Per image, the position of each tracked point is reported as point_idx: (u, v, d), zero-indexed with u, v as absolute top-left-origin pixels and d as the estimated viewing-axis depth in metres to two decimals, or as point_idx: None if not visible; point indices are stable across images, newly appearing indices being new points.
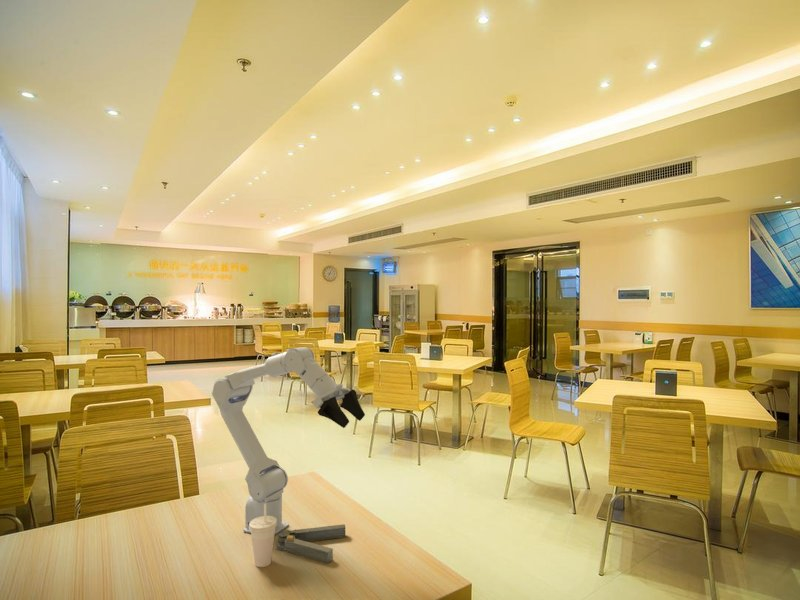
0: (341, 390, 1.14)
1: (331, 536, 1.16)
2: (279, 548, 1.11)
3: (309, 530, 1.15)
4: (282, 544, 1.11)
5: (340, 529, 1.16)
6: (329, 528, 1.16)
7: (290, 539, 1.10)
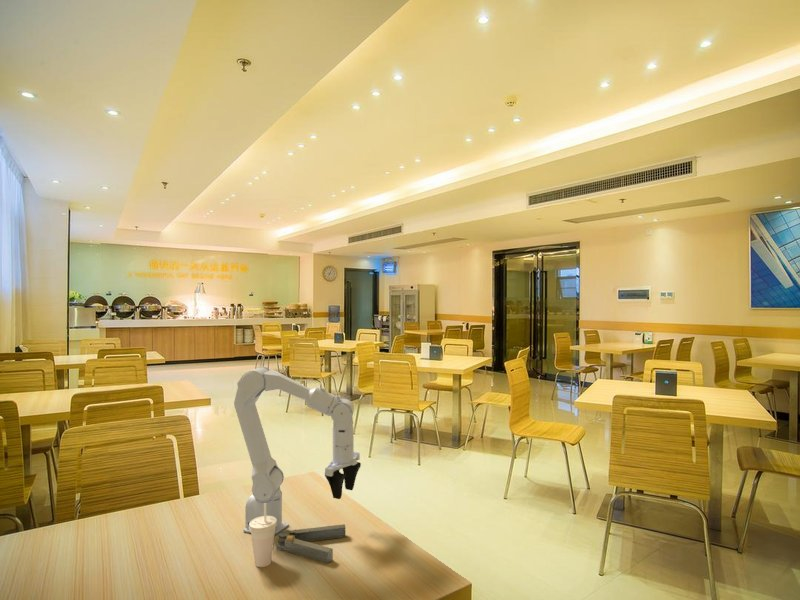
0: None
1: (331, 536, 1.16)
2: (279, 548, 1.11)
3: (309, 530, 1.15)
4: (282, 544, 1.11)
5: (340, 529, 1.16)
6: (329, 528, 1.16)
7: (290, 539, 1.10)
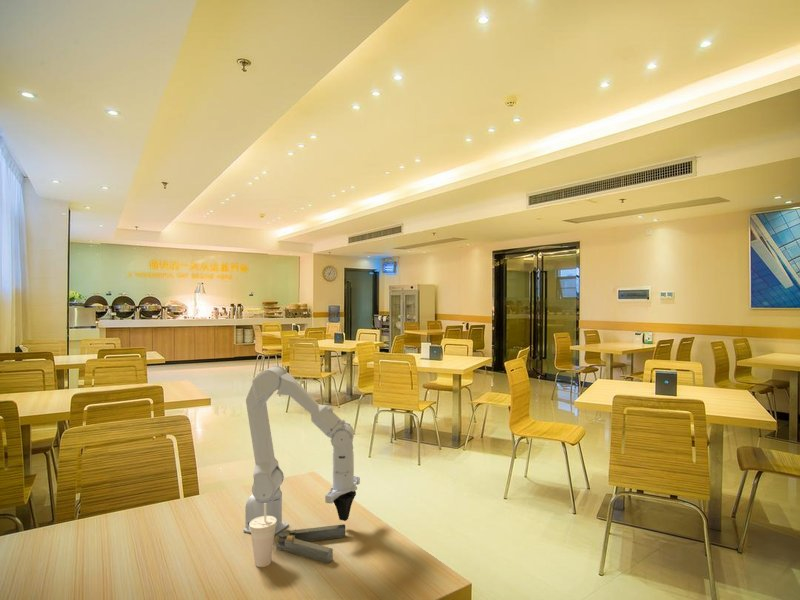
0: None
1: (331, 536, 1.16)
2: (279, 548, 1.11)
3: (309, 530, 1.15)
4: (282, 544, 1.11)
5: (340, 529, 1.16)
6: (329, 528, 1.16)
7: (290, 539, 1.10)
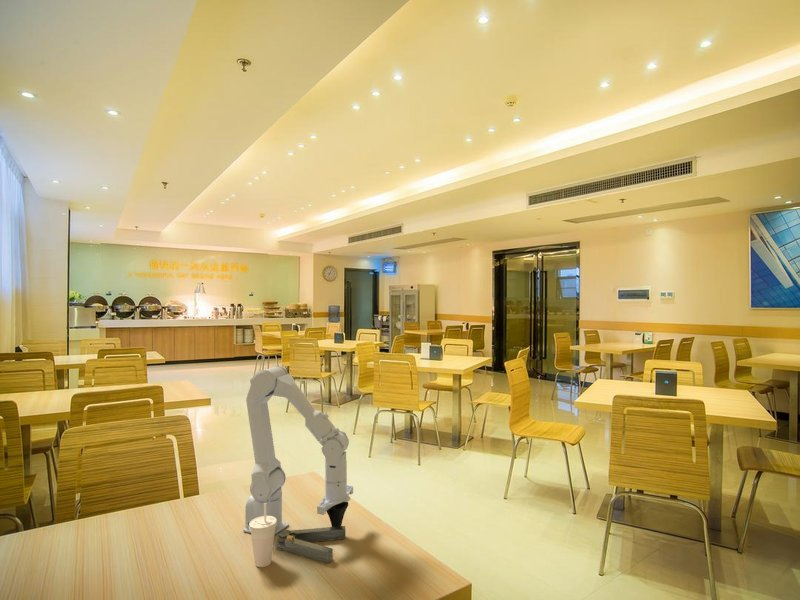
0: None
1: (331, 537, 1.15)
2: (279, 548, 1.11)
3: (308, 531, 1.15)
4: (282, 544, 1.11)
5: (340, 531, 1.15)
6: (329, 529, 1.15)
7: (290, 539, 1.10)
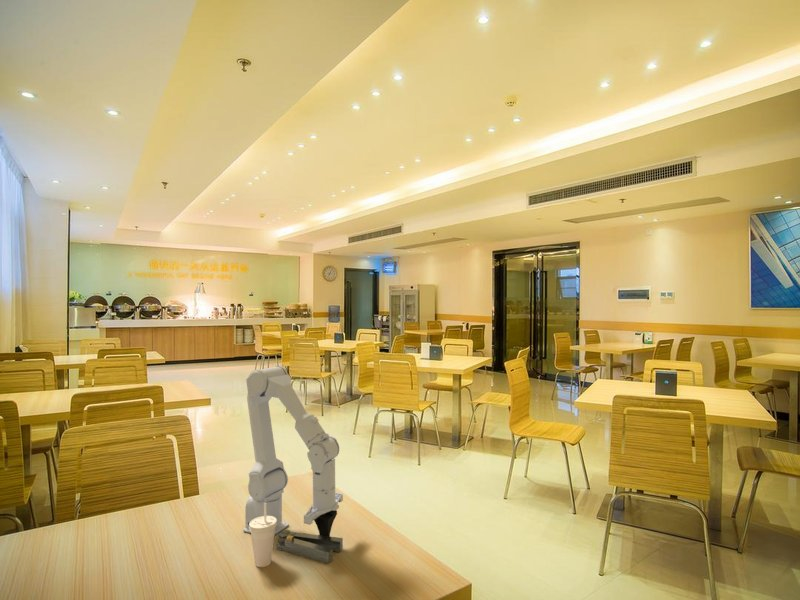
0: None
1: None
2: (279, 548, 1.11)
3: (306, 536, 1.12)
4: (282, 544, 1.11)
5: (335, 543, 1.10)
6: (325, 538, 1.11)
7: (290, 539, 1.10)
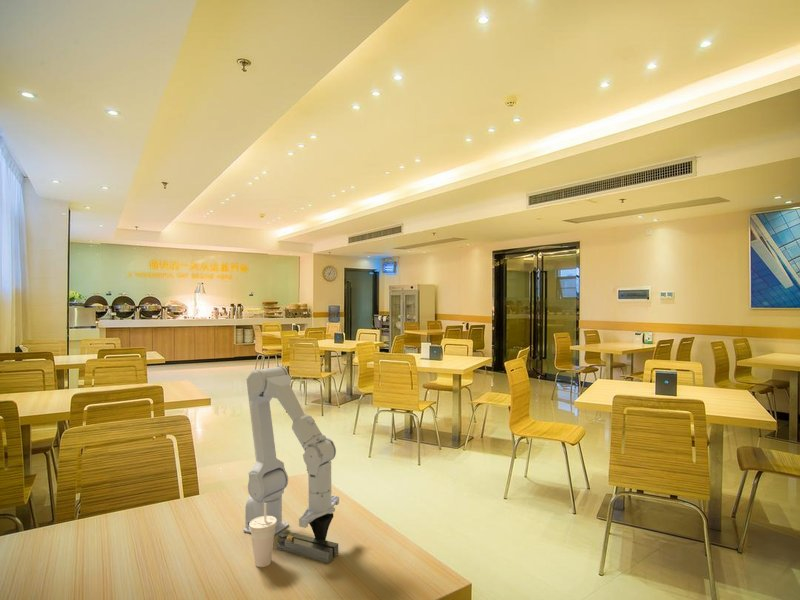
0: None
1: None
2: (279, 548, 1.11)
3: (303, 538, 1.11)
4: (282, 544, 1.11)
5: (329, 547, 1.07)
6: (321, 542, 1.09)
7: (290, 539, 1.10)
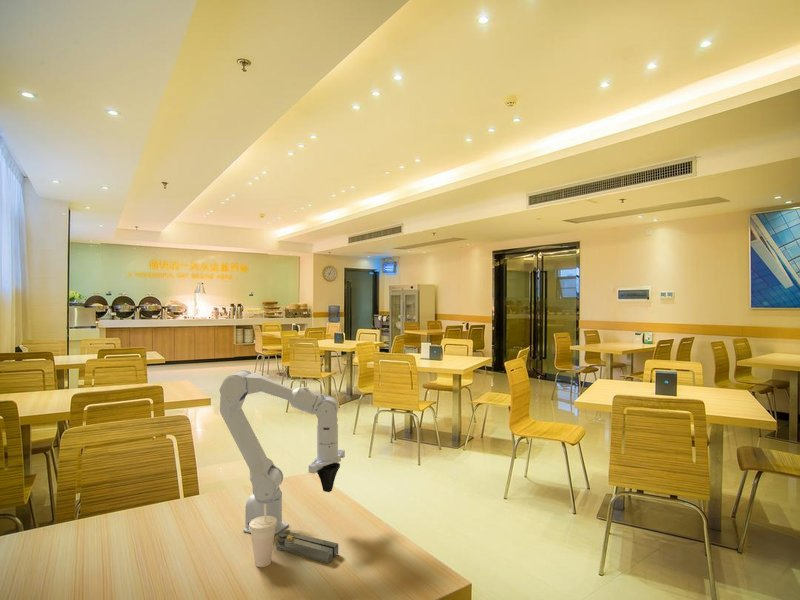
0: None
1: None
2: (279, 548, 1.11)
3: (303, 538, 1.11)
4: (282, 544, 1.11)
5: None
6: (321, 542, 1.09)
7: (290, 539, 1.10)
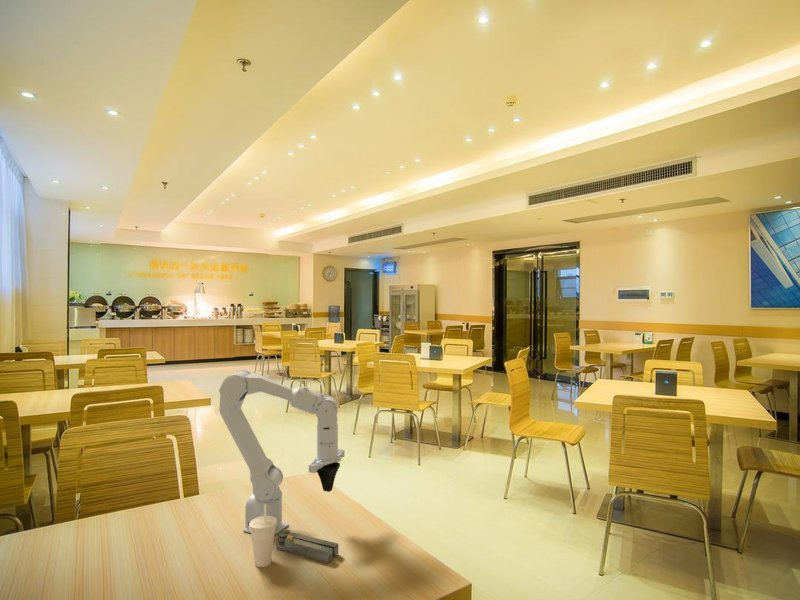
0: None
1: None
2: (279, 548, 1.11)
3: (303, 538, 1.11)
4: (282, 544, 1.11)
5: None
6: (321, 542, 1.09)
7: (290, 539, 1.10)
